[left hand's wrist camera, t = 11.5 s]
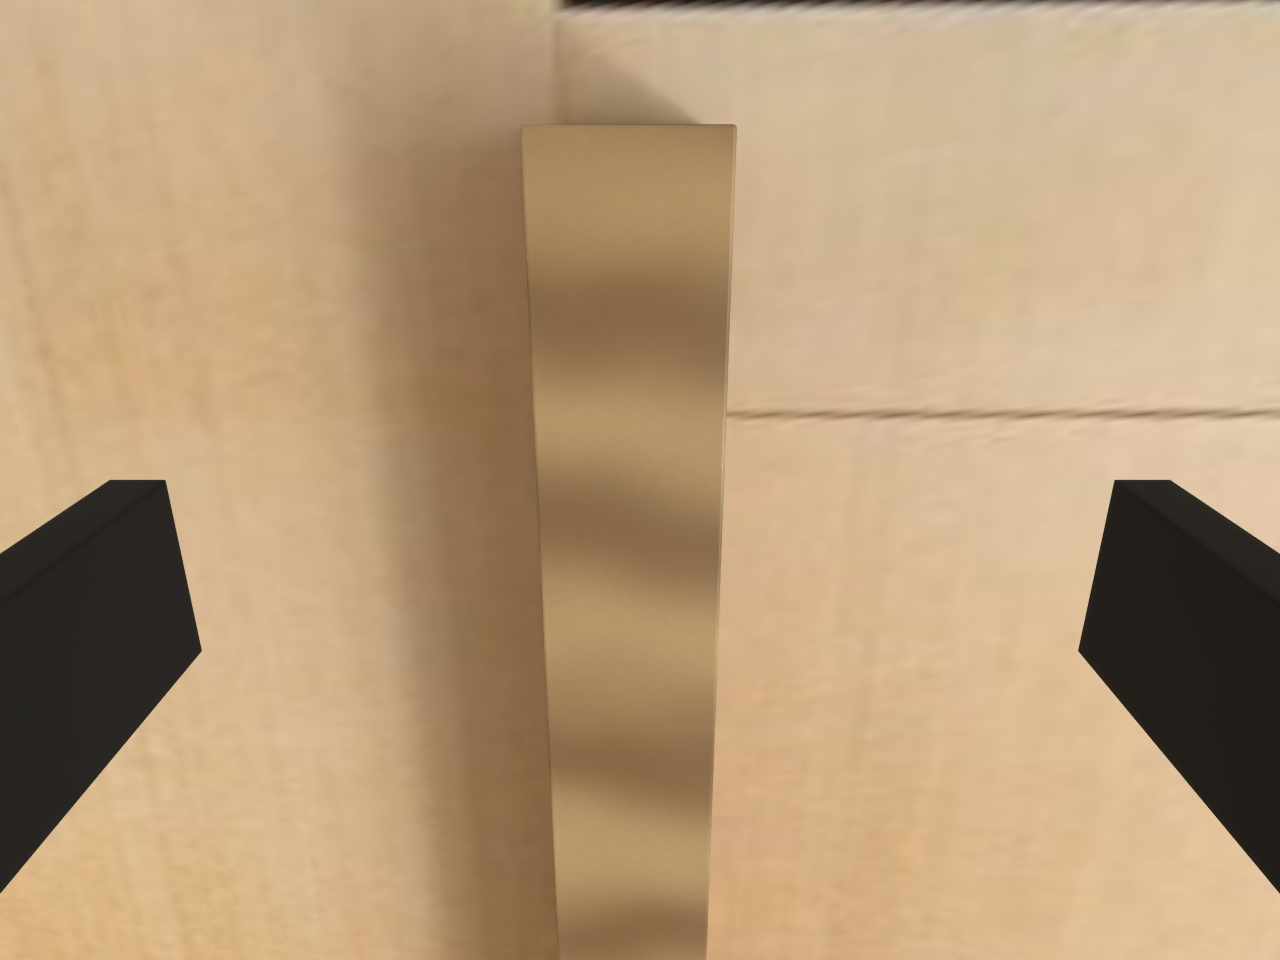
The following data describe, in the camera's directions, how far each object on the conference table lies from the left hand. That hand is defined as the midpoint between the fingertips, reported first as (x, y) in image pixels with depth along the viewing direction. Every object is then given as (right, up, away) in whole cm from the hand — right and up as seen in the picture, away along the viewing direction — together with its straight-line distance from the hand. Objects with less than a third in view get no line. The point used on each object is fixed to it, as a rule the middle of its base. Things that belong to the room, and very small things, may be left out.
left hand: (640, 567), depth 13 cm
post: (0, -16, +27) cm, 31 cm away
